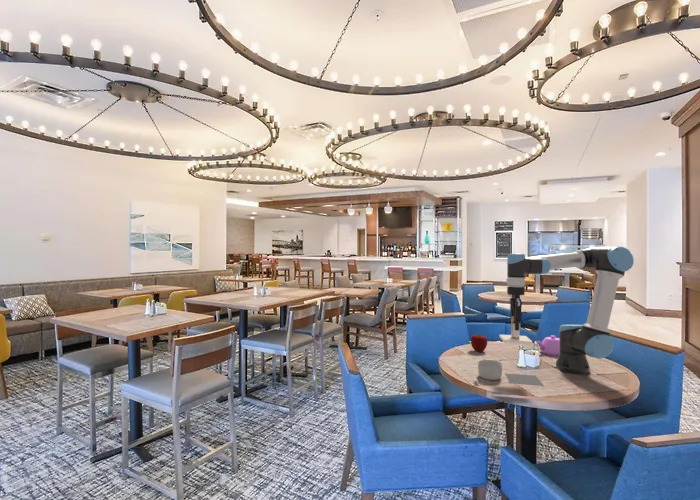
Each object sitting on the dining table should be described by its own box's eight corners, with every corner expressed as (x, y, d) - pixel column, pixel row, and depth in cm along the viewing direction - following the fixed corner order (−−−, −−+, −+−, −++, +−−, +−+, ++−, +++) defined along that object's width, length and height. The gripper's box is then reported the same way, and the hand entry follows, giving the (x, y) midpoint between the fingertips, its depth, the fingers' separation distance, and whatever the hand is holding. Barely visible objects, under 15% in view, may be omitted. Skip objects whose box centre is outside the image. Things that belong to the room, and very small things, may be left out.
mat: (535, 377, 179) (535, 375, 179) (544, 387, 165) (543, 385, 165) (504, 375, 182) (504, 373, 182) (510, 385, 168) (510, 383, 168)
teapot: (529, 351, 227) (529, 333, 227) (557, 349, 230) (557, 332, 230) (545, 357, 213) (545, 339, 213) (575, 355, 217) (575, 337, 217)
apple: (485, 354, 220) (485, 337, 220) (468, 351, 225) (468, 335, 225) (488, 350, 228) (488, 334, 228) (473, 348, 233) (473, 332, 233)
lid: (525, 338, 179) (526, 315, 179) (532, 344, 167) (532, 319, 167) (499, 336, 181) (499, 313, 181) (504, 342, 170) (504, 318, 170)
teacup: (504, 384, 170) (504, 366, 170) (479, 382, 172) (479, 365, 172) (498, 374, 183) (498, 358, 183) (475, 372, 186) (475, 356, 186)
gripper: (503, 284, 183) (503, 332, 183) (511, 287, 167) (510, 339, 167) (520, 285, 182) (519, 332, 182) (529, 288, 166) (528, 340, 165)
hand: (515, 335), depth 174 cm, fingers closed on lid, 3 cm apart
